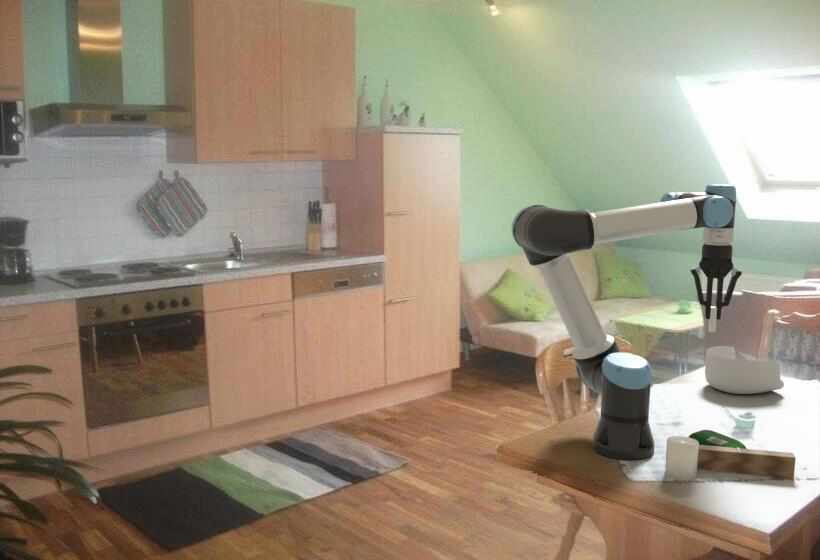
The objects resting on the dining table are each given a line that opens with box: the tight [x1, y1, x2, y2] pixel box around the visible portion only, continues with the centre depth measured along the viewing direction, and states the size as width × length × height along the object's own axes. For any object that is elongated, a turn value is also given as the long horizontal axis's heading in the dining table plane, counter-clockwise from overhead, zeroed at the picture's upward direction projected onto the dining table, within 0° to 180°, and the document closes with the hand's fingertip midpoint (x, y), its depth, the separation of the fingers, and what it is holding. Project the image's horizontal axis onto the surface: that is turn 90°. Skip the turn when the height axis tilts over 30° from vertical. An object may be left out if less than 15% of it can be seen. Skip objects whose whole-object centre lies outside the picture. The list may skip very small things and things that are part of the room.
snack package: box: [688, 429, 748, 449], centre depth 202 cm, size 7×16×5 cm, turn 28°
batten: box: [697, 445, 796, 479], centre depth 192 cm, size 22×3×5 cm, turn 76°
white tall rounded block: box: [664, 435, 699, 481], centre depth 190 cm, size 7×7×8 cm
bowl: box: [704, 345, 785, 395], centre depth 257 cm, size 20×19×12 cm
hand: (711, 331), depth 220 cm, fingers closed
